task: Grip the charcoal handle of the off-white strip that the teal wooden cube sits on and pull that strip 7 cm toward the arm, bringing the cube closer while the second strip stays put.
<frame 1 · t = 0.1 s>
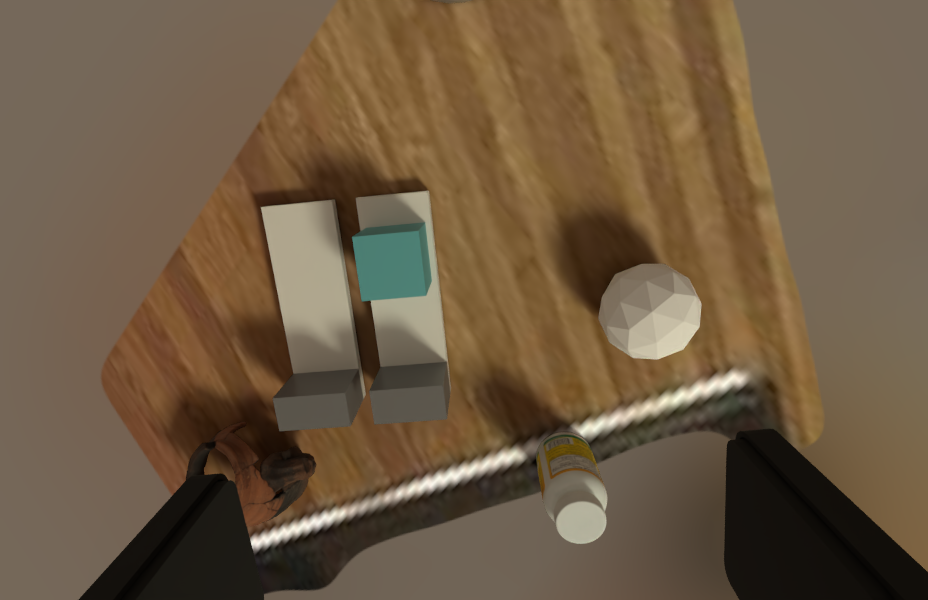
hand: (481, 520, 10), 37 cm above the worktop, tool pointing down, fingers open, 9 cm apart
strip with cube: (401, 306, 44), point 3 cm above the worktop, slide at 0.0 cm, touching cube
ball: (634, 298, 47), on the worktop
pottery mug: (272, 456, 52), on the worktop
empty strip: (307, 314, 44), point 3 cm above the worktop, slide at 0.0 cm
supplement bottle: (562, 454, 51), on the worktop
cube: (399, 254, 45), point 1 cm above the worktop, touching strip with cube
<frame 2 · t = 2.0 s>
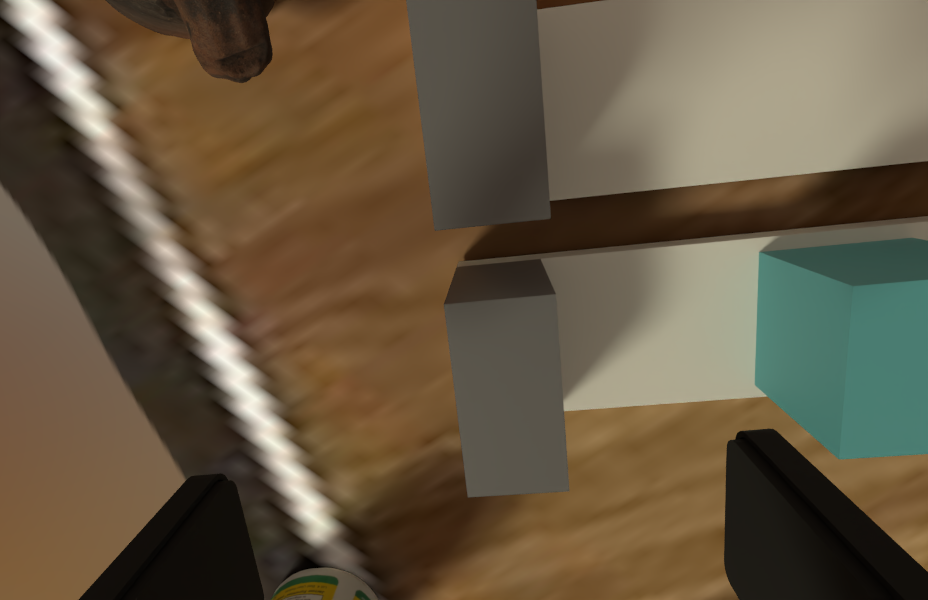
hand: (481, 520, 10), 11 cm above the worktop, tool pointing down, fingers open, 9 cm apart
strip with cube: (738, 343, 17), point 3 cm above the worktop, slide at 0.0 cm, touching cube
empty strip: (744, 80, 15), point 3 cm above the worktop, slide at 0.0 cm
cube: (829, 314, 19), point 1 cm above the worktop, touching strip with cube
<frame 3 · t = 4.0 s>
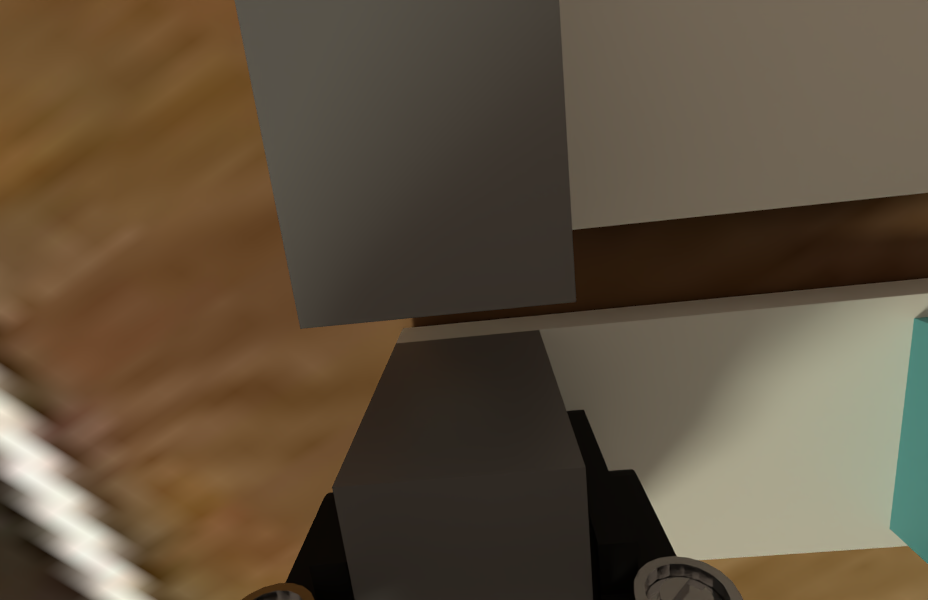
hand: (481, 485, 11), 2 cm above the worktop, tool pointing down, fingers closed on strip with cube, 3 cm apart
strip with cube: (899, 492, 9), point 3 cm above the worktop, slide at 0.0 cm, touching cube, gripper
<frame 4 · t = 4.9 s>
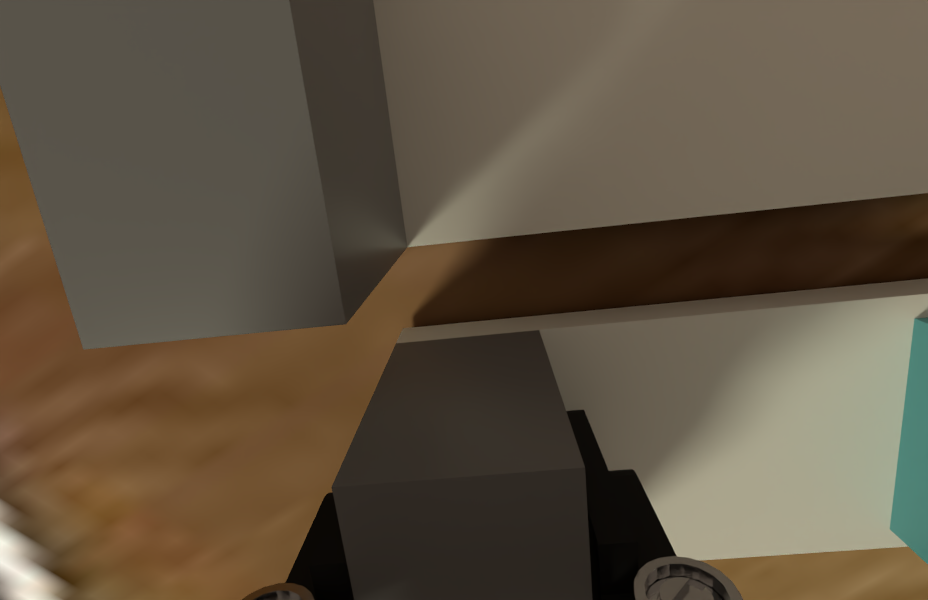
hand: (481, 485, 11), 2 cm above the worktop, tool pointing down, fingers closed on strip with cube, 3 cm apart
strip with cube: (899, 492, 9), point 3 cm above the worktop, slide at 2.5 cm, touching cube, gripper
empty strip: (776, 19, 8), point 3 cm above the worktop, slide at 0.0 cm
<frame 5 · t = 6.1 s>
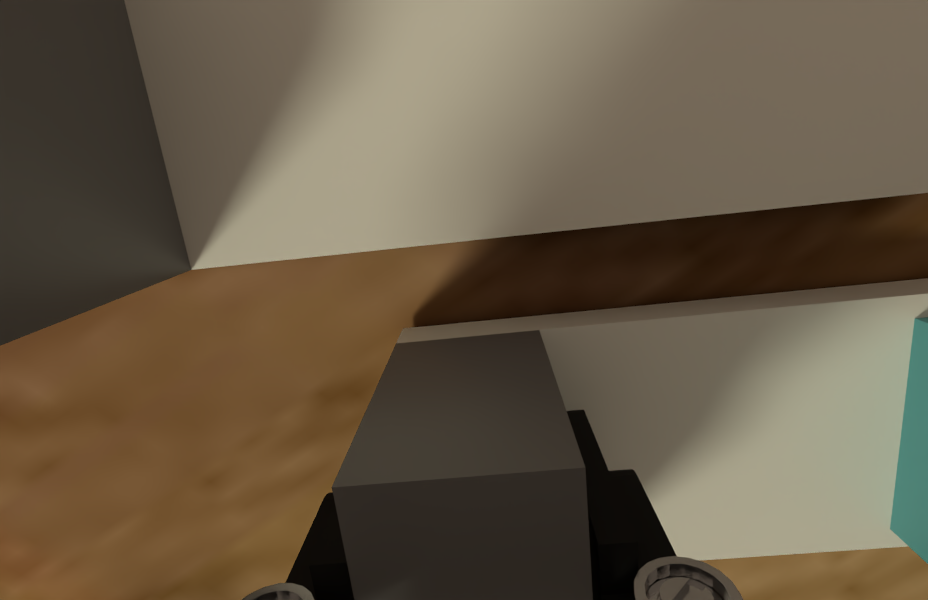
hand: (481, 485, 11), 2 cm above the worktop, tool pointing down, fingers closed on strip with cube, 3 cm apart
strip with cube: (899, 492, 9), point 3 cm above the worktop, slide at 7.0 cm, touching cube, gripper
empty strip: (463, 58, 8), point 3 cm above the worktop, slide at 0.0 cm
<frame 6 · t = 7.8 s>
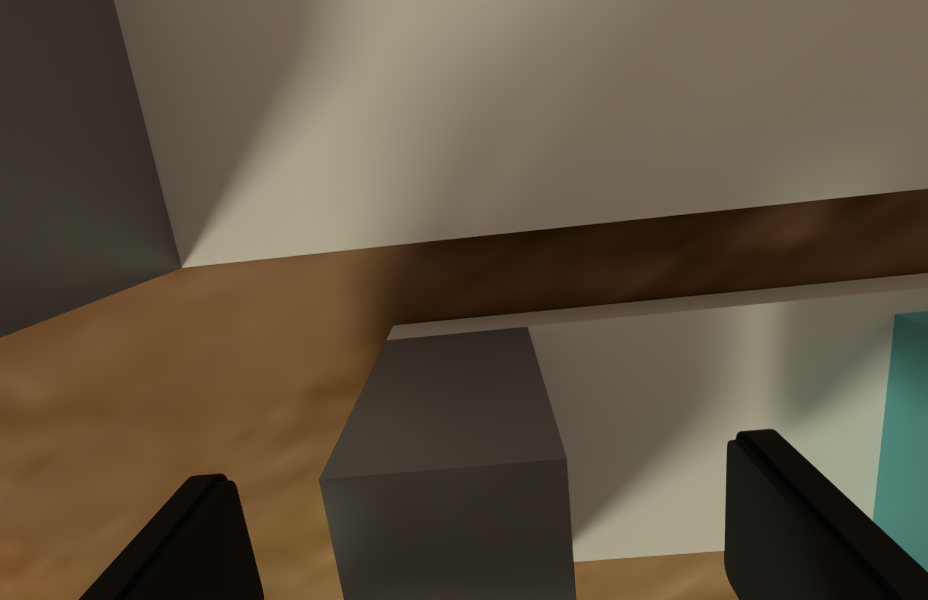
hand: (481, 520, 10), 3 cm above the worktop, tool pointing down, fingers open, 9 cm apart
strip with cube: (879, 484, 10), point 3 cm above the worktop, slide at 7.0 cm, touching cube
empty strip: (448, 58, 8), point 3 cm above the worktop, slide at 0.0 cm
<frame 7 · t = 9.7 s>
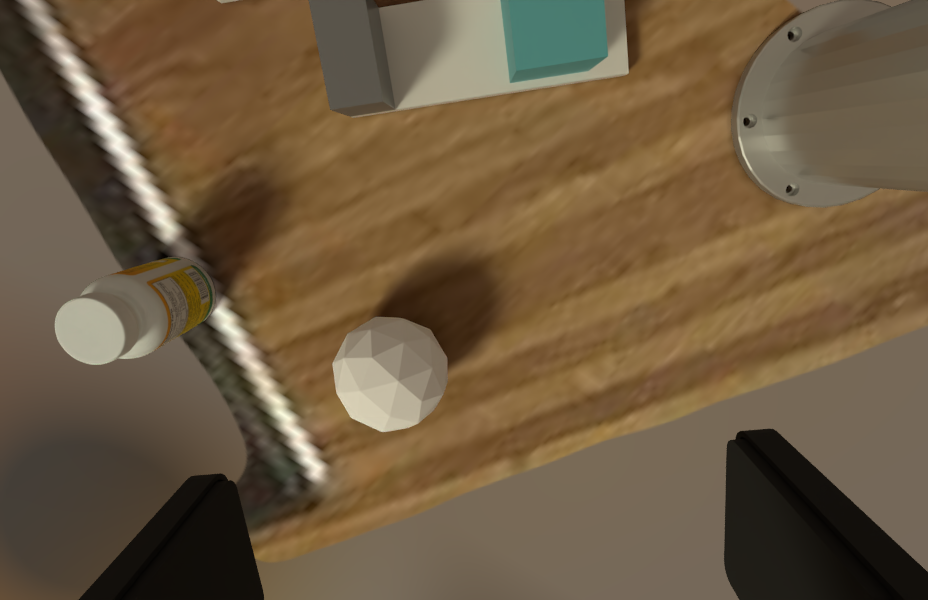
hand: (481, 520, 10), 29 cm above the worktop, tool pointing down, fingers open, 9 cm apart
strip with cube: (481, 37, 31), point 3 cm above the worktop, slide at 7.0 cm, touching cube
ball: (399, 352, 40), on the worktop
supplement bottle: (182, 290, 39), on the worktop
cube: (544, 34, 33), point 1 cm above the worktop, touching strip with cube
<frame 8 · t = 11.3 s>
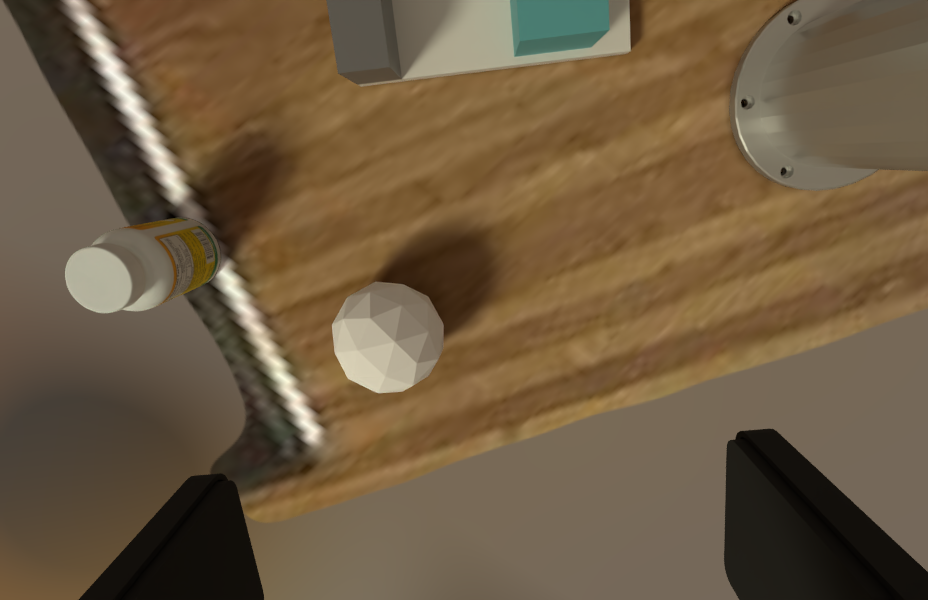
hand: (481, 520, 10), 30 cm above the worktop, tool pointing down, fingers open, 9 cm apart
strip with cube: (488, 9, 32), point 3 cm above the worktop, slide at 7.0 cm, touching cube
ball: (397, 320, 41), on the worktop
supplement bottle: (188, 251, 40), on the worktop
cube: (550, 9, 34), point 1 cm above the worktop, touching strip with cube
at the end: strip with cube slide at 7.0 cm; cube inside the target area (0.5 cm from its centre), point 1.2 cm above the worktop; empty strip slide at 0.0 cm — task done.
